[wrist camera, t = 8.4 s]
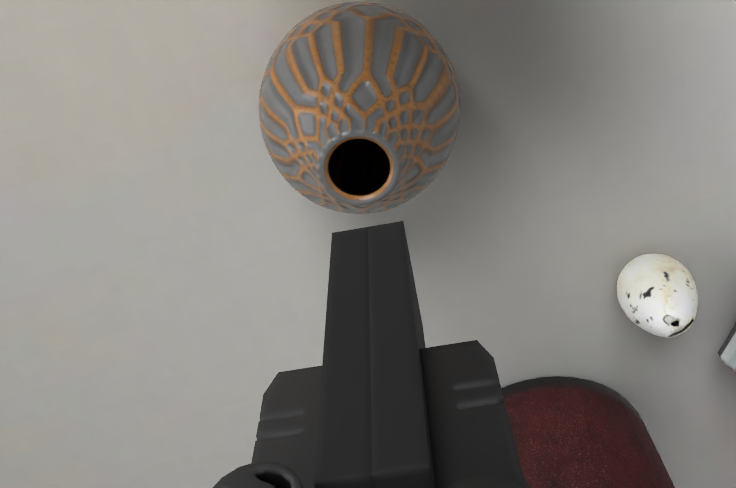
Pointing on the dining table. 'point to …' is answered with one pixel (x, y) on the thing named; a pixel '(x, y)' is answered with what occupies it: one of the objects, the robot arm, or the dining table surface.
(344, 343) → the robot arm
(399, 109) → the vase
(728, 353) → the toy car
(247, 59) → the dining table surface
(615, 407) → the vase
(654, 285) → the egg
